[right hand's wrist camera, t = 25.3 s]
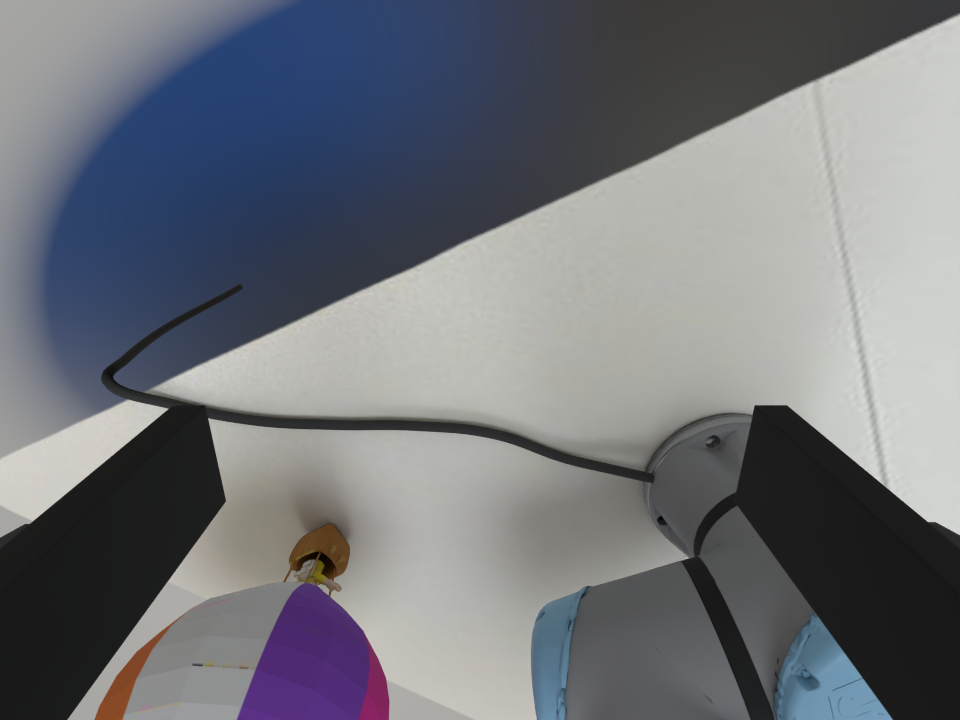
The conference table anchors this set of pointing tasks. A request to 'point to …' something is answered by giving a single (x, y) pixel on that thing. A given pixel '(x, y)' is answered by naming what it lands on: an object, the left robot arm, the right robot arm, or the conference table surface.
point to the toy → (260, 654)
